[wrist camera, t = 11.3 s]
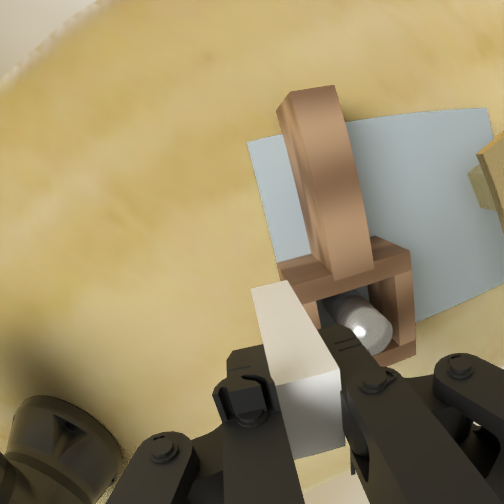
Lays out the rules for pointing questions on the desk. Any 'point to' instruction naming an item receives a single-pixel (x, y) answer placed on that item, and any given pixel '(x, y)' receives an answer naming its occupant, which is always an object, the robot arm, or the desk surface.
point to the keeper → (490, 177)
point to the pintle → (360, 319)
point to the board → (404, 202)
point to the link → (340, 223)
